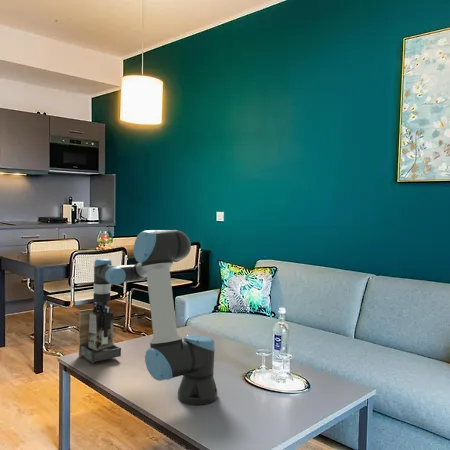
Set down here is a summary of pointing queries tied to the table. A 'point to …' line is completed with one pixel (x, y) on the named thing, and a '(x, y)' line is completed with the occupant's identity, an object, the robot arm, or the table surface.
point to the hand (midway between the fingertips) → (100, 341)
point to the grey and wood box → (84, 342)
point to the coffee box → (99, 331)
